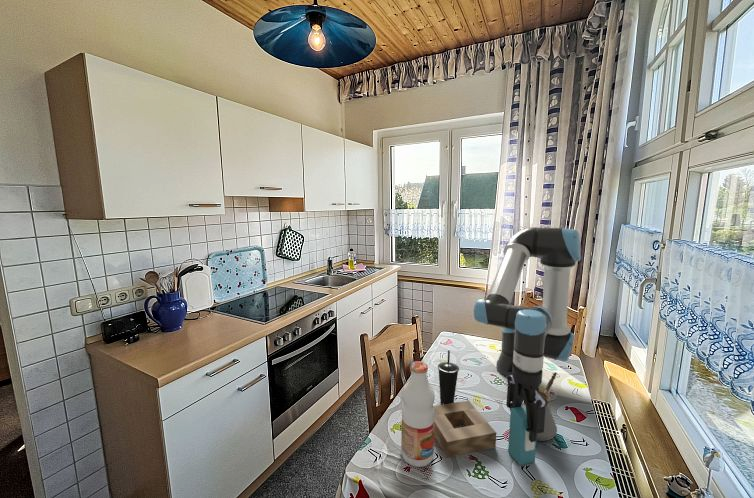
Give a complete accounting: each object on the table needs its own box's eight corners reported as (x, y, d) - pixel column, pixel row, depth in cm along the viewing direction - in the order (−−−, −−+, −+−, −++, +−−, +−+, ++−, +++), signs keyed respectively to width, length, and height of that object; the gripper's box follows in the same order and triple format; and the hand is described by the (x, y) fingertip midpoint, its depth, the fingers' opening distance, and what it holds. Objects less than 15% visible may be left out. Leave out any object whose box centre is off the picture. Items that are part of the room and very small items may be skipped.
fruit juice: (406, 439, 97) (407, 354, 93) (436, 447, 93) (438, 360, 90) (396, 462, 88) (397, 370, 84) (429, 472, 85) (432, 377, 81)
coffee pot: (548, 451, 92) (552, 405, 90) (510, 431, 100) (513, 388, 98) (571, 419, 106) (575, 378, 104) (536, 403, 114) (539, 365, 112)
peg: (522, 448, 93) (525, 405, 91) (534, 461, 88) (538, 416, 86) (508, 451, 92) (510, 408, 90) (519, 465, 87) (522, 419, 85)
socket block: (467, 413, 109) (468, 400, 108) (495, 447, 93) (496, 432, 93) (425, 420, 105) (425, 407, 104) (446, 457, 90) (447, 441, 89)
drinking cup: (458, 409, 111) (460, 356, 108) (436, 406, 113) (438, 354, 110) (457, 396, 119) (459, 347, 116) (436, 394, 120) (438, 345, 117)
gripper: (495, 352, 94) (492, 422, 97) (540, 386, 76) (533, 470, 80) (517, 350, 96) (512, 419, 99) (565, 382, 78) (558, 464, 81)
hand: (522, 441), depth 89 cm, fingers closed on peg, 5 cm apart
